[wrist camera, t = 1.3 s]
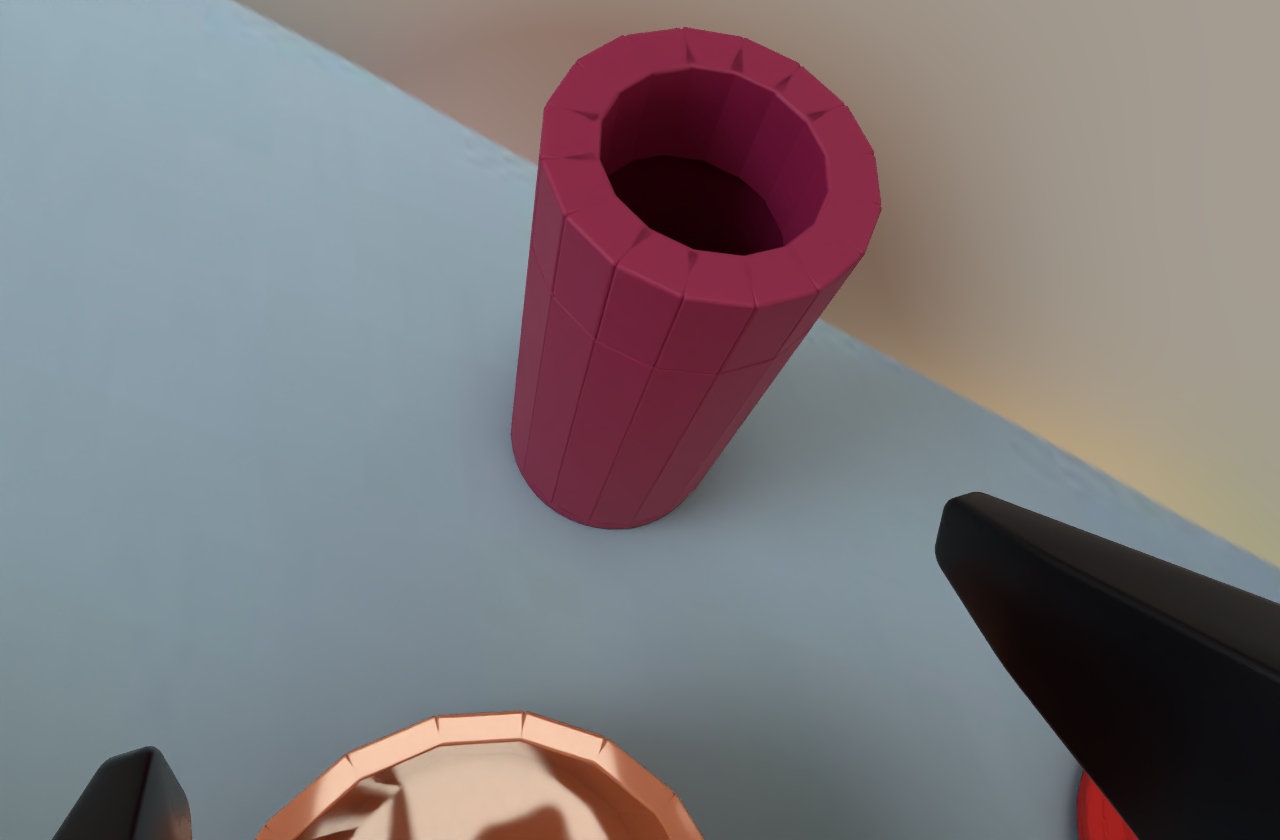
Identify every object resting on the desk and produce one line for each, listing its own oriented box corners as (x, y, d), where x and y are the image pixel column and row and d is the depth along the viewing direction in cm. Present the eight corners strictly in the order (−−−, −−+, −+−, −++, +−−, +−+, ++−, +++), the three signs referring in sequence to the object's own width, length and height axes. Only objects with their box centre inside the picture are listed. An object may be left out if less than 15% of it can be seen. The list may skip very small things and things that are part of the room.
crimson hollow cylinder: (744, 446, 27) (945, 188, 16) (605, 571, 25) (722, 373, 13) (614, 316, 28) (712, -16, 17) (469, 422, 26) (466, 118, 14)
